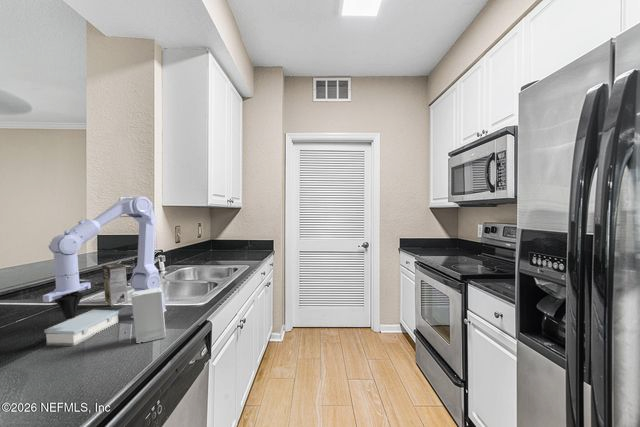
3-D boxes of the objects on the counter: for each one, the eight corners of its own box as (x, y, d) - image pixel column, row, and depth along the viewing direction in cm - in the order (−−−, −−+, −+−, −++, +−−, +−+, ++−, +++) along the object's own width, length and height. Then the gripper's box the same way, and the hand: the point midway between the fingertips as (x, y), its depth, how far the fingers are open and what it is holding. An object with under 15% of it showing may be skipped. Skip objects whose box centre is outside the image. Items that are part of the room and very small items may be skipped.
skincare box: (165, 331, 105) (162, 286, 104) (165, 338, 100) (162, 290, 99) (135, 337, 101) (132, 290, 101) (134, 345, 96) (131, 295, 95)
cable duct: (119, 322, 115) (118, 312, 115) (75, 345, 97) (74, 334, 97) (95, 322, 116) (94, 312, 116) (47, 345, 98) (46, 333, 98)
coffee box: (104, 302, 140) (102, 265, 139) (121, 298, 145) (119, 262, 144) (111, 306, 134) (108, 267, 133) (128, 302, 138) (125, 265, 138)
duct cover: (118, 313, 115) (118, 310, 115) (74, 334, 97) (74, 331, 97) (93, 312, 116) (93, 309, 116) (44, 333, 98) (44, 329, 98)
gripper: (75, 269, 107) (78, 309, 108) (31, 280, 93) (35, 327, 93) (95, 268, 106) (98, 310, 107) (53, 280, 92) (57, 327, 93)
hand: (70, 318), depth 100 cm, fingers closed
